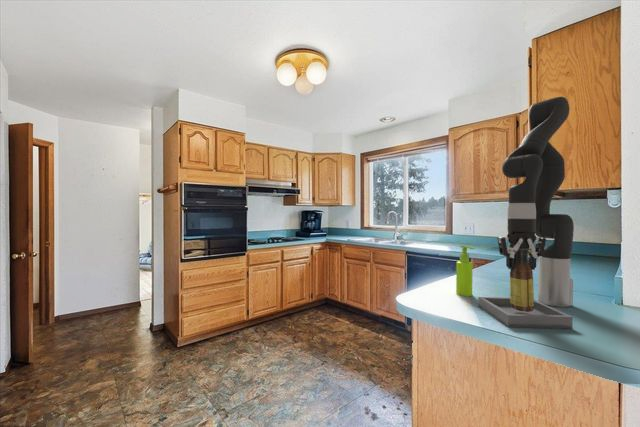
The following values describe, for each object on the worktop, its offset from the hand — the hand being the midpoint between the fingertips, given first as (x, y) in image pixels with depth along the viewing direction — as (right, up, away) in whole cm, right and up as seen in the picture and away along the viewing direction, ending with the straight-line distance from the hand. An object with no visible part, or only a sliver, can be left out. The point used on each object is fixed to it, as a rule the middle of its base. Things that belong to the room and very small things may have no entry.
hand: (521, 268), depth 92 cm
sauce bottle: (0, -13, 0) cm, 13 cm away
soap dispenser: (-5, -15, +24) cm, 29 cm away
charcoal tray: (0, -16, 0) cm, 16 cm away
